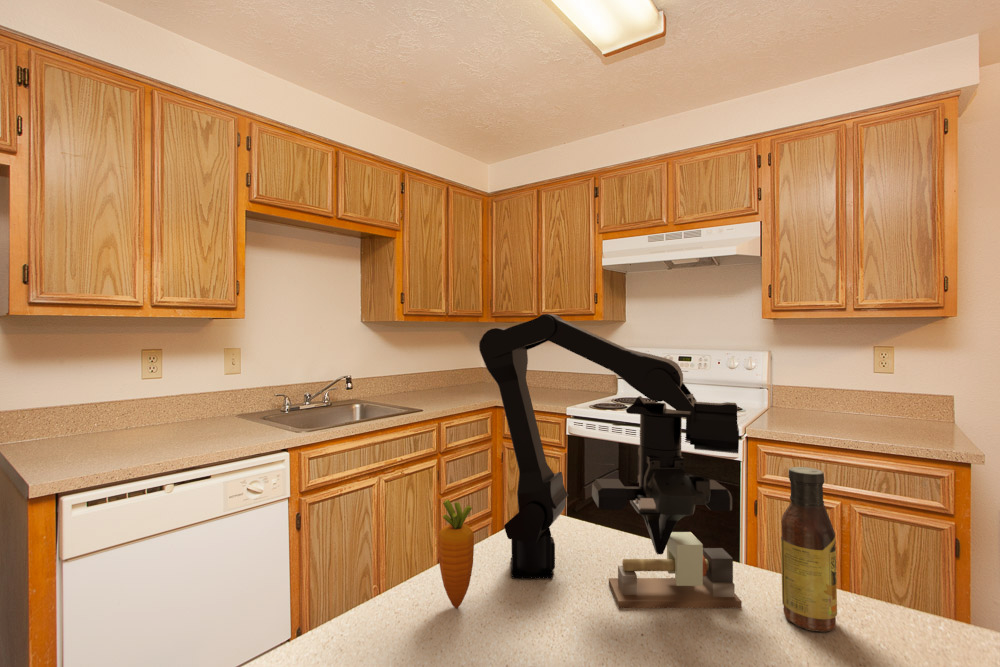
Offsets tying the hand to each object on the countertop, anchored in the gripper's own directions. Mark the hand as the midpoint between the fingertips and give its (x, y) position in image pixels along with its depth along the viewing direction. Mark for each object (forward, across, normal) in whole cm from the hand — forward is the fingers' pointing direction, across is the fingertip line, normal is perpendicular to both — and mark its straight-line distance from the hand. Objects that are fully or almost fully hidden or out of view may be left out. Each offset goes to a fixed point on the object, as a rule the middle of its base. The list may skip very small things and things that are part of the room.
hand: (658, 553), depth 73 cm
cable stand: (+6, +2, 0) cm, 7 cm away
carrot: (+7, -29, -3) cm, 30 cm away
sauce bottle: (+6, +18, -6) cm, 20 cm away
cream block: (+4, +4, 0) cm, 5 cm away
